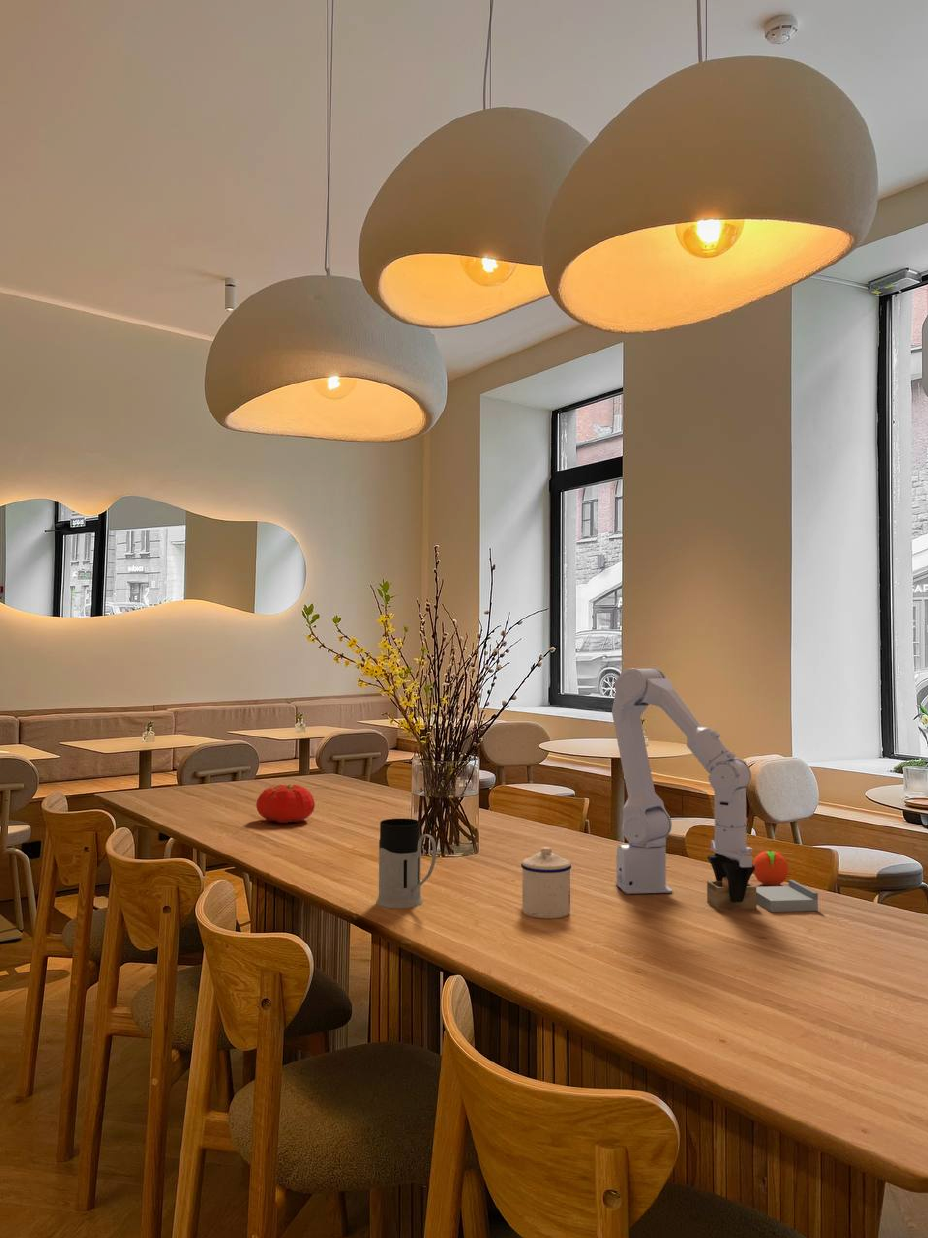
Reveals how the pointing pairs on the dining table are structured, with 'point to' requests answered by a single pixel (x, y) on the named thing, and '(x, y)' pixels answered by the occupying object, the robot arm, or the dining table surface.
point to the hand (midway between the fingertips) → (730, 897)
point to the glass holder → (401, 863)
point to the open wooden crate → (722, 900)
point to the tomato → (285, 804)
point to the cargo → (724, 882)
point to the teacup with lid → (546, 885)
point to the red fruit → (770, 868)
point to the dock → (787, 898)
